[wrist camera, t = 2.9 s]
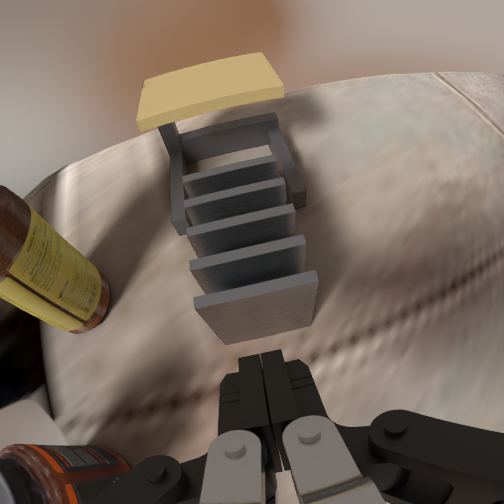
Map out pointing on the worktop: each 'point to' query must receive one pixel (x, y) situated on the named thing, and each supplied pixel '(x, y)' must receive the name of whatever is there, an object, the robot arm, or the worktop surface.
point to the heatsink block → (248, 252)
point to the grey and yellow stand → (221, 135)
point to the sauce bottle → (47, 270)
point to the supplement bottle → (57, 473)
